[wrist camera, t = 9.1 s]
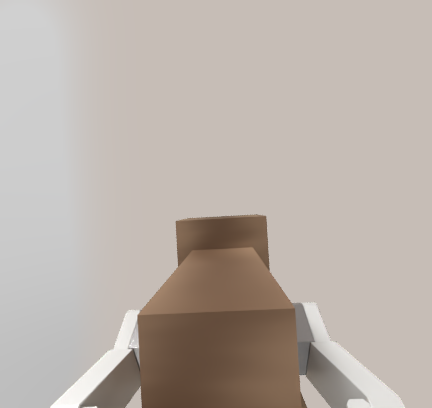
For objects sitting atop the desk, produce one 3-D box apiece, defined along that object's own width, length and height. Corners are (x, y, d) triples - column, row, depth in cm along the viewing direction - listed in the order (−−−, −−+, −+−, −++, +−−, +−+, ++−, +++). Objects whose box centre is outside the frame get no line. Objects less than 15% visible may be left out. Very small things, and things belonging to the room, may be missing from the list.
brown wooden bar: (260, 283, 24) (256, 214, 25) (346, 470, 7) (330, 226, 7) (191, 286, 25) (188, 218, 25) (106, 476, 7) (95, 239, 7)
